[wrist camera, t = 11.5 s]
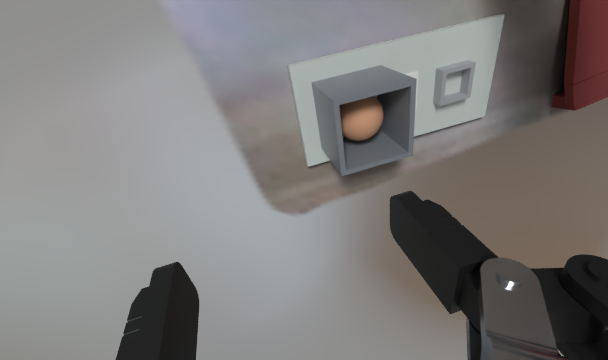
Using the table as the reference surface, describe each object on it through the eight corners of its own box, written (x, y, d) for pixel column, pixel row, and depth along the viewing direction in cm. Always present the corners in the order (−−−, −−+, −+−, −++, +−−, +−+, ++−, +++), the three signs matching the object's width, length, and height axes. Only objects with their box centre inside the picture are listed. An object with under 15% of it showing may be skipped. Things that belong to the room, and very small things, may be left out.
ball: (347, 76, 36) (367, 89, 31) (379, 101, 39) (402, 116, 34) (319, 116, 38) (334, 134, 33) (352, 137, 41) (370, 156, 36)
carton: (547, -69, 38) (540, 111, 48) (588, -86, 33) (570, 116, 44) (627, -100, 38) (602, 85, 49) (679, -120, 34) (639, 88, 45)
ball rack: (306, 163, 42) (325, 198, 35) (287, 65, 34) (306, 82, 27) (480, 114, 45) (531, 136, 38) (498, 14, 38) (567, 17, 30)
